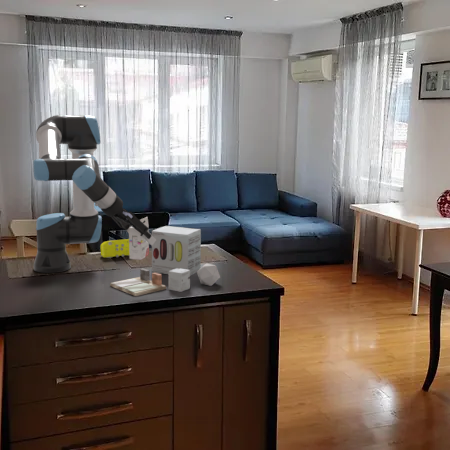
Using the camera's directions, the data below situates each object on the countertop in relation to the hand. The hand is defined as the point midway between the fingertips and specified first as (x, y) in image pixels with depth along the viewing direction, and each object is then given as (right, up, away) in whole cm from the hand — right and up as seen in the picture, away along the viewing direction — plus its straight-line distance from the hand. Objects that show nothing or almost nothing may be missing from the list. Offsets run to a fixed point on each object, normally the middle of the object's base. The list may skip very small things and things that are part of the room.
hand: (146, 240), depth 218 cm
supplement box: (+9, -14, +30) cm, 35 cm away
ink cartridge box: (-3, -6, -1) cm, 7 cm away
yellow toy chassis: (-20, -9, +56) cm, 60 cm away
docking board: (-4, -18, +6) cm, 20 cm away
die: (+23, -18, +12) cm, 31 cm away
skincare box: (+12, -19, +5) cm, 23 cm away
